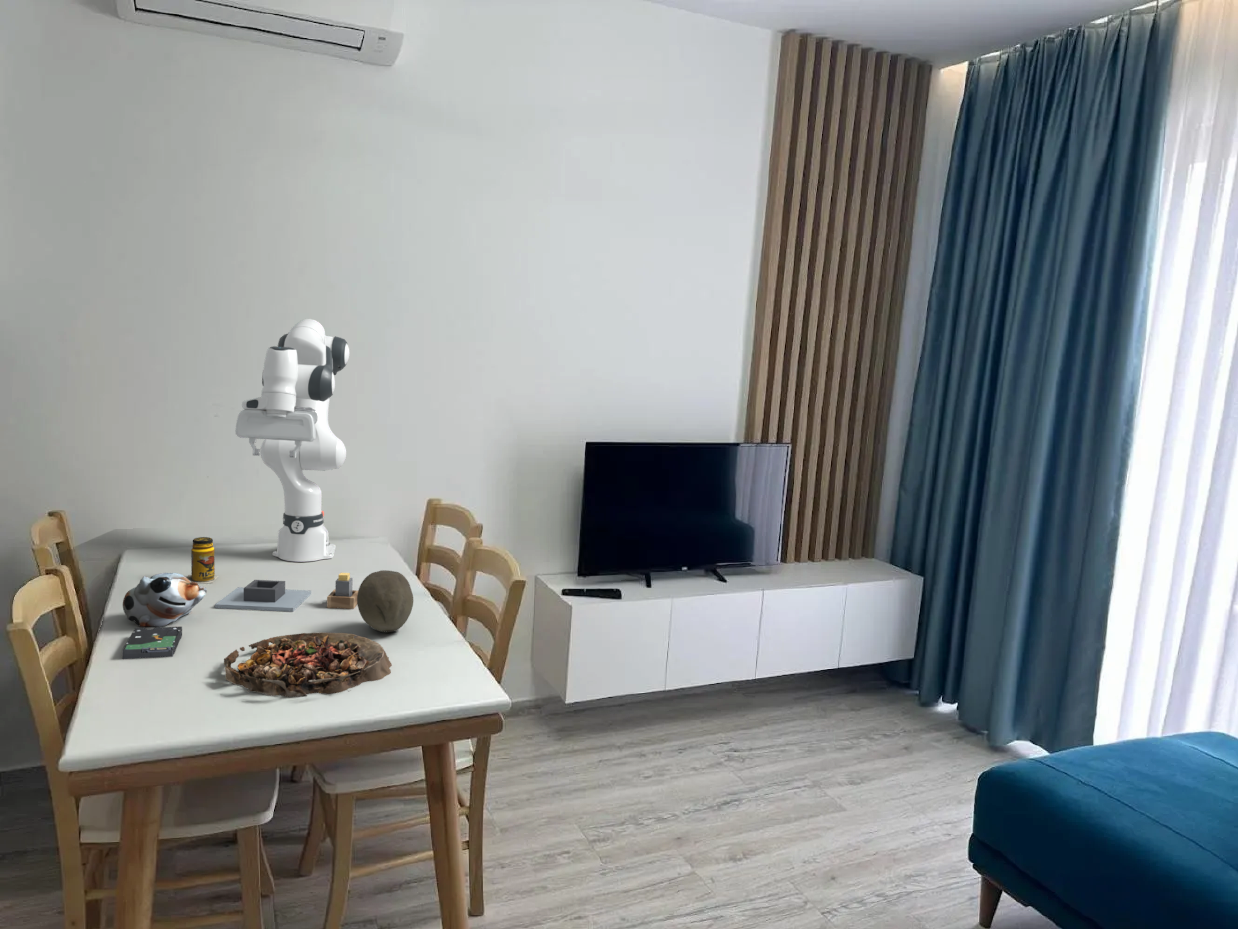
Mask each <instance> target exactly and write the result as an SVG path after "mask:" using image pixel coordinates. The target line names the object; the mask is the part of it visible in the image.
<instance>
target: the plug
mask: <svg viewBox="0 0 1238 929" xmlns="http://www.w3.org/2000/svg"><path fill="white" fill-rule="evenodd" d="M350 574H351V573H350V572H340V573H339V574H338V576H337V577H338V578H337V579H336V580H335V584H334V585H335V586H334V587H335V588H334V589H335V596H344V597H351V596H352V590H353V578H354V577H351V575H350Z"/></svg>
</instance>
